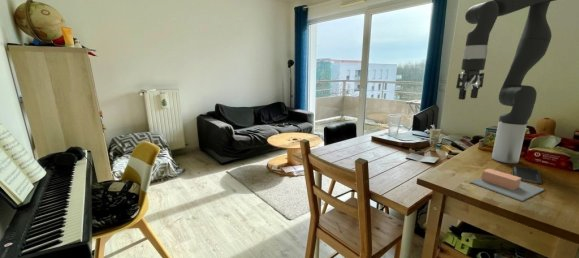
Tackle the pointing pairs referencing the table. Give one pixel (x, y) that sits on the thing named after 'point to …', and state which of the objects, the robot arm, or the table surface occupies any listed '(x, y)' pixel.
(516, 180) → the block
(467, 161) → the table surface
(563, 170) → the table surface
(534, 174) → the phone
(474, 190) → the table surface
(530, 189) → the mat
